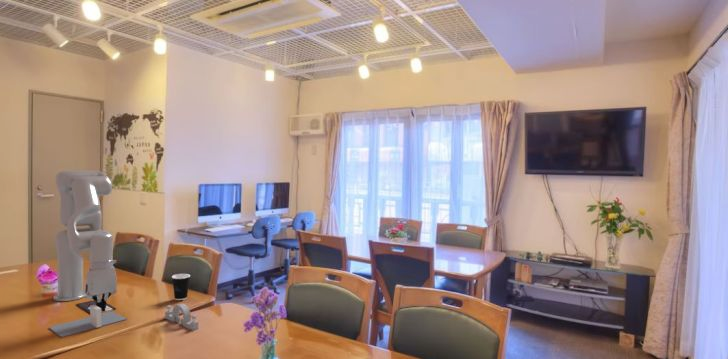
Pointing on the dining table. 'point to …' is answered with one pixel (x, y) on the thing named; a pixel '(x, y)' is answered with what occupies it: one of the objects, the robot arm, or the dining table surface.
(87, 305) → the chocolate bar
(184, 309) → the grey arched bracket
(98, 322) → the slab
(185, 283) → the dixie cup
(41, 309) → the dining table surface
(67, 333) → the mat
